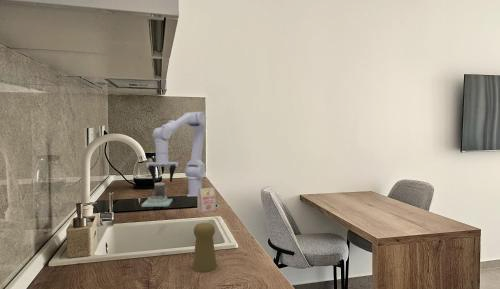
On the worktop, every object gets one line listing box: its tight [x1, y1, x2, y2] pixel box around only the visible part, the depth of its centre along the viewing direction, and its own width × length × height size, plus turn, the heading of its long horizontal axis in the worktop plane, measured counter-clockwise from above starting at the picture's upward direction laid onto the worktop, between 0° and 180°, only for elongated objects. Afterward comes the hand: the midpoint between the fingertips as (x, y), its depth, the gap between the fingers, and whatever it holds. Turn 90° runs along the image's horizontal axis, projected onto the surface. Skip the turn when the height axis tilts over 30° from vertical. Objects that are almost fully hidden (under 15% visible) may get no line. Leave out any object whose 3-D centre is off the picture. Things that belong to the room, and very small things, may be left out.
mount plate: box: [141, 198, 174, 208], centre depth 162 cm, size 12×12×1 cm
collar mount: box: [147, 195, 168, 204], centre depth 162 cm, size 9×9×2 cm
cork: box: [192, 222, 218, 273], centre depth 86 cm, size 6×6×11 cm
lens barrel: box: [154, 182, 166, 196], centre depth 173 cm, size 5×5×8 cm
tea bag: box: [196, 187, 217, 214], centre depth 146 cm, size 4×7×10 cm, turn 118°
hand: (162, 181), depth 162 cm, fingers open, 7 cm apart
